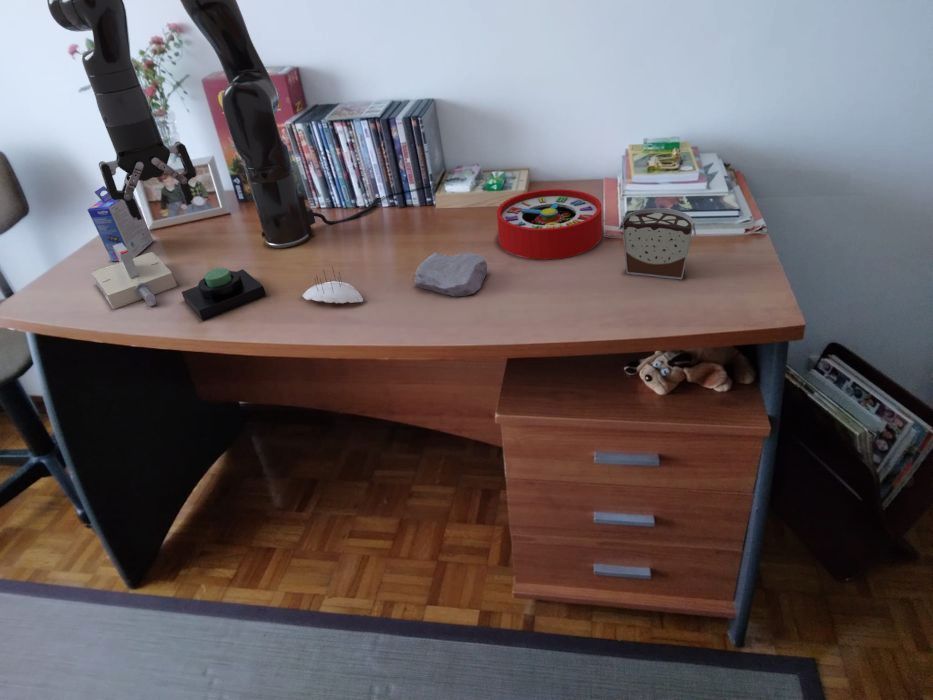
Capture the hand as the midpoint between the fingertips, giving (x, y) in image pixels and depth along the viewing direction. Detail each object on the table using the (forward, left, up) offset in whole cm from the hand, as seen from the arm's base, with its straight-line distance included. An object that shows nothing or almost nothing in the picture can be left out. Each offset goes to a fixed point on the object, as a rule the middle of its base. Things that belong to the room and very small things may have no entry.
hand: (163, 211), depth 118 cm
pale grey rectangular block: (+7, -13, -14) cm, 20 cm away
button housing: (-4, +7, -17) cm, 18 cm away
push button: (-4, +7, -13) cm, 15 cm away
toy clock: (-61, +33, -17) cm, 71 cm away
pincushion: (-18, +23, -17) cm, 33 cm away
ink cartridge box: (+3, -32, -17) cm, 37 cm away
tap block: (+7, -13, -17) cm, 23 cm away
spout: (+7, -4, -16) cm, 18 cm away
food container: (-64, +57, -17) cm, 87 cm away
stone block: (-36, +34, -17) cm, 52 cm away
